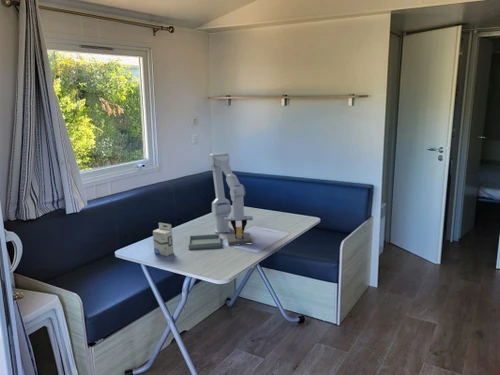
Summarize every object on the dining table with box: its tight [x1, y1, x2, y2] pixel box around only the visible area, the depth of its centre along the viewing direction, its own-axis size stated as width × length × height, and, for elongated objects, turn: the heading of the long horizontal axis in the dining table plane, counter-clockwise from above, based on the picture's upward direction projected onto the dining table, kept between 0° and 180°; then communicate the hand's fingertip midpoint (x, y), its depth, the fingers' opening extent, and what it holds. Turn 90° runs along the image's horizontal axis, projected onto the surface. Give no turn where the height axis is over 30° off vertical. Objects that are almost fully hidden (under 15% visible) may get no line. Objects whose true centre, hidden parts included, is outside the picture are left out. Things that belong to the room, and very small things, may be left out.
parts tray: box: [188, 233, 222, 250], centre depth 227 cm, size 14×16×2 cm
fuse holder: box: [226, 232, 253, 246], centre depth 230 cm, size 12×12×2 cm
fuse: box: [236, 225, 242, 239], centre depth 229 cm, size 4×3×7 cm
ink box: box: [152, 222, 174, 257], centre depth 214 cm, size 8×5×15 cm, turn 60°
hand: (239, 234), depth 229 cm, fingers closed on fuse, 3 cm apart
